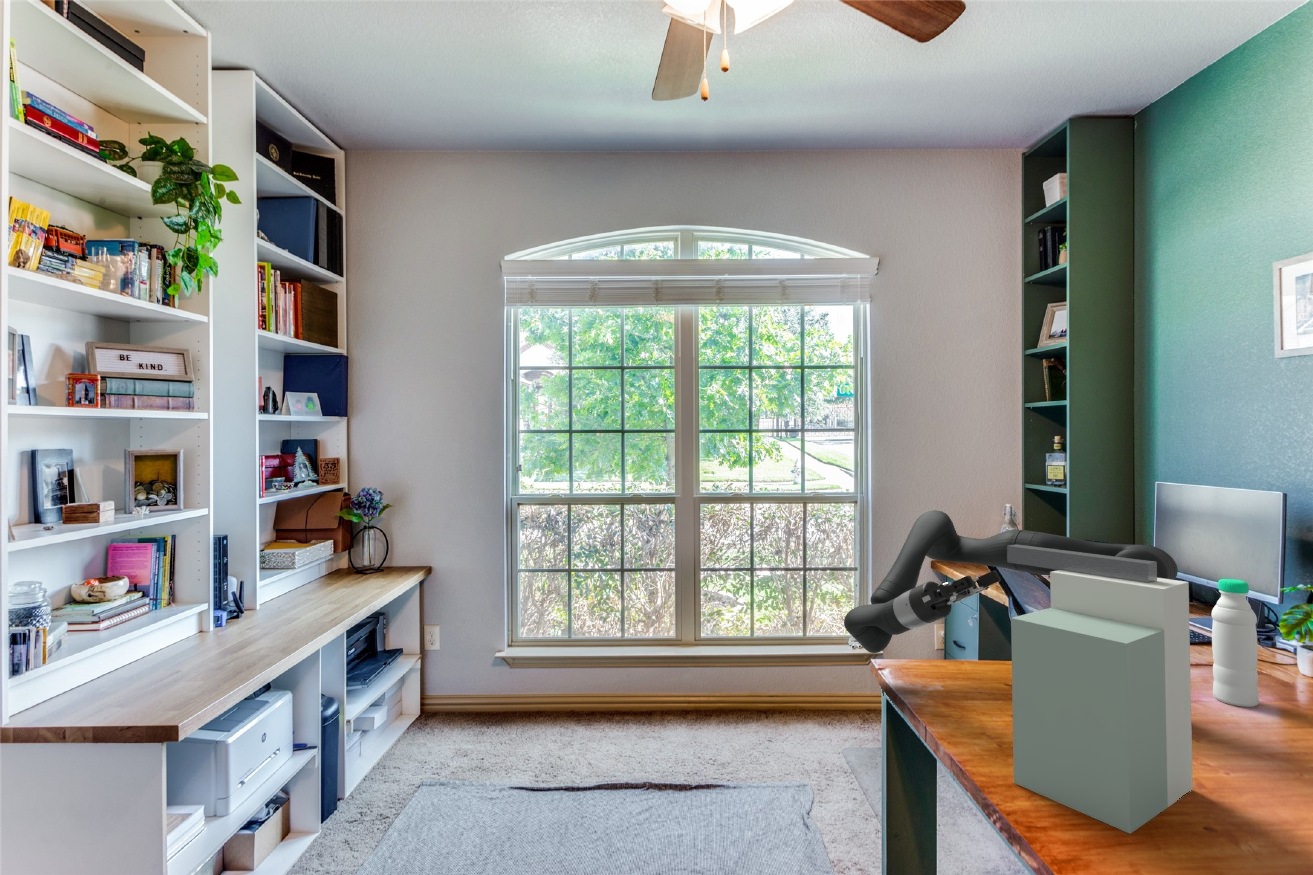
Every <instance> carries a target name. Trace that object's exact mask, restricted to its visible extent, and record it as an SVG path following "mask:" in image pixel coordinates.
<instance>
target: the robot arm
mask: <svg viewBox="0 0 1313 875" xmlns="http://www.w3.org/2000/svg"><path fill="white" fill-rule="evenodd" d="M1016 544H1017V545H1025V546H1033V547H1041V548H1049V549H1057V550H1065V551H1073V552H1081V553H1090V554H1098V555H1106V556H1114V557H1122V558H1130V559H1138V560H1146V561H1154V562H1157V578H1163V579H1170V580H1177V579H1176V578H1177V576H1178V572H1179V571H1178V566H1177V562H1176V561H1175V559H1174V558H1173V557H1172V556H1171V555H1170V554H1169V553H1168V552H1167V551H1165V550H1163V549H1162V548H1159V547H1157V546H1154V545H1149V544H1129V543H1128V544H1124V543H1123V544H1122V543H1107V542H1105V543H1104V542H1094V541H1091V540H1090V541H1087V540H1083V539H1079V538H1075V537H1069V536H1064V535H1057V534H1051V533H1047V532H1046V533H1045V532H1039V531H1032V530H1026V529H1011V530H1010V529H1009V530H1005V531H1002V532H1000V533H997V534H994V535H992V536H989V537H987V538H973V537H968V536H961V535H959V534H958V533H957V530H956V528H955V525H954V522H953V521H952V519H951V517H950V516H949V515H948V514H947V513H946V512H944V511H941V510H937V509H936V510H929V511H926V512H924V513H922V514H921V515H919V517H917V519H916V520H915V521H914V523H913V525H912V527H911V529H910V530H909V533H908V535H907V538H906V539H905V542H904V543H903V546H902V548H901V549H900V552H899V553H898V555H897V557H896V559H895V561H894V563H893V565H892V566H891V568H890V570H889V571H888V573H886V574H887V575H886V576H885V577H884V578H883V580H882V581H881V582H880V583H879V585H878V586H877V588H875V590H874V592H873V593H872V595H871V596H870V600H869V601H870V604H863V605H859V606H856V607H854V608H852V609H850V610H849V611H848V612H847V613H846V615H845V617H844V619H843V625H844V628H845V630H846V631H847V632H848V633H849V635H850V636H851V637H852V638H853V639H855V641H856V642H857V643H859V645H861V647H862V648H863V649H865V650H866V651H867V652H868V653H870V654H878V653H880V652H883V651H884V650H885V649H886V648H887V647H889V646H888V645H889V644H890V642H891V640H892V639H893V638H892V637H893V636H897V635H901V634H903V633H905V632H909V631H911V630H914V629H917V628H921V627H925V626H926V625H928V624H931V623H934V622H936V621H939V620H941V619H944V618H946V617H948V616H949V615H950V614H951V612H952V605H953V604H958V603H960V602H962V600H964V599H968V598H970V597H973V596H975V595H976V594H978V593H980V592H982V591H987V590H988V589H990V586H992V585H995V584H997V583H1000V582H1001V580H1002V579H1001V576H1000V575H999V573H998V571H997V570H991V571H989V572H987V573H985V574H982V575H980V576H975V577H974V578H973V577H972V576H970V575H965V576H963V577H961V578H958V579H957V580H955V581H947V582H944V583H941V584H940V583H938V582H935V581H931V580H930V581H926V582H924V583H922V584H919V585H917V584H918V581H919V576H920V573H921V570H922V566H923V563H924V561H925V558H926V557H928V558H929V559H931V560H935V561H941V562H950V563H951V562H952V563H964V564H975V565H983V566H988V567H995V568H1002V569H1003V568H1004V569H1008V570H1013V571H1018V572H1022V573H1028V574H1032V575H1033V574H1034V575H1041V576H1050V572H1052V571H1057V570H1056V569H1049V568H1043V567H1036V566H1029V565H1022V564H1016V563H1009V562H1007V546H1009V545H1016Z"/></svg>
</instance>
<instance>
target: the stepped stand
mask: <svg viewBox="0 0 1313 875" xmlns="http://www.w3.org/2000/svg"><path fill="white" fill-rule="evenodd" d="M1049 576H1050V577H1049V579H1050V583H1049V585H1050V589H1049V590H1050V592H1049V593H1050V607H1048V608H1044V609H1040V610H1036V611H1033V612H1028V613H1025V614H1022V615H1021V614H1020V615H1018V616H1014V617H1011V618H1010V621H1011V622H1010V624H1011V626H1010V627H1011V629H1010V631H1011V633H1010V634H1011V636H1010V637H1011V689H1012V690H1011V691H1012V692H1011V694H1012V698H1011V699H1012V703H1011V704H1012V753H1013V755H1012V756H1013V757H1012V758H1013V765H1012V766H1013V784H1015V785H1018V786H1020V787H1021V788H1022V787H1023V788H1025V789H1027V790H1029V791H1031V792H1033V793H1036V794H1038V795H1041V796H1042V797H1045V798H1047V799H1049V800H1052V801H1054V802H1056V803H1059V804H1061V805H1062V806H1066V807H1068V808H1070V809H1072V810H1075V811H1078V812H1079V813H1082V814H1083V815H1086V816H1088V817H1091V818H1093V819H1095V820H1098V821H1100V822H1102V823H1104V824H1107V825H1109V826H1111V827H1113V828H1117V829H1118V830H1120V831H1123V832H1125V833H1127V834H1130V835H1131V834H1132V833H1134V832H1135V831H1136V830H1138V829H1139V828H1141V827H1142V826H1143V825H1145V824H1146V823H1148V822H1150V821H1151V820H1152V819H1154V818H1156V817H1157V816H1158V815H1159V814H1161V813H1162V812H1164V811H1165V810H1166V809H1168V808H1169V807H1171V806H1172V805H1174V804H1175V803H1177V800H1178V801H1179V800H1180V799H1182V798H1183V797H1184V796H1183V795H1184V794H1186V793H1187V792H1189V791H1190V792H1192V791H1193V790H1192V789H1194V788H1193V787H1194V786H1193V782H1194V781H1193V744H1192V743H1193V742H1192V738H1193V737H1192V736H1193V734H1192V730H1193V729H1192V689H1191V688H1192V687H1191V644H1190V643H1191V642H1190V641H1191V640H1190V638H1191V636H1190V632H1191V631H1190V604H1189V603H1190V590H1189V588H1190V587H1189V583H1190V582H1189V581H1185V580H1184V581H1183V580H1177V579H1175V580H1170V579H1163V578H1157V581H1155V582H1151V583H1144V582H1137V581H1130V580H1123V579H1117V578H1110V577H1103V576H1096V575H1090V574H1083V573H1076V572H1069V571H1063V570H1057V571H1052V572H1050V575H1049ZM1191 790H1192V791H1191ZM1190 792H1189V793H1190ZM1186 795H1187V794H1186ZM1182 796H1183V797H1182ZM1181 797H1182V798H1181ZM1179 798H1180V799H1179ZM1160 812H1161V813H1160Z"/></svg>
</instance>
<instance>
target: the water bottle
mask: <svg viewBox="0 0 1313 875" xmlns="http://www.w3.org/2000/svg"><path fill="white" fill-rule="evenodd" d="M1249 588H1250V585H1249V583H1248V582H1247V581H1245V580H1241V579H1235V578H1234V579H1233V578H1221V579H1219V580H1218V581H1217V589H1218V592H1219V593H1220V597H1219V599H1218V600H1217V601H1216V604H1215V605H1214V607H1213V608H1212V610H1211V618H1212V624H1211V626H1212V627H1211V628H1212V629H1211V647H1212V650H1211V651H1212V658H1213V665H1212V677H1213V684H1212V695H1213V696H1214V698H1215V699H1217V700H1218V701H1219V702H1222V703H1224V704H1227V705H1231V706H1234V707H1235V706H1237V707H1243V708H1252V707H1253V708H1254V707H1256V706H1258V705H1259V704H1260V699H1259V698H1260V697H1259V696H1260V695H1259V690H1258V684H1259V674H1258V670H1257V668H1258V654H1259V653H1258V634H1257V626H1256V625H1257V622H1258V617H1257V615H1256V613H1255V611H1254V610H1253V609H1252V606H1251V604H1250V602H1248V600H1247V596H1248V595H1249V591H1250V589H1249Z"/></svg>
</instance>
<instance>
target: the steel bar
mask: <svg viewBox="0 0 1313 875" xmlns="http://www.w3.org/2000/svg"><path fill="white" fill-rule="evenodd" d="M1007 562H1009V563H1016V564H1022V565H1029V566H1036V567H1043V568H1049V569H1056V570H1063V571H1069V572H1076V573H1083V574H1090V575H1096V576H1103V577H1110V578H1117V579H1123V580H1130V581H1137V582H1144V583H1151V582H1155V581H1157V562H1154V561H1146V560H1138V559H1130V558H1122V557H1114V556H1106V555H1098V554H1090V553H1081V552H1073V551H1065V550H1057V549H1049V548H1041V547H1033V546H1025V545H1017V544H1016V545H1009V546H1007Z"/></svg>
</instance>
